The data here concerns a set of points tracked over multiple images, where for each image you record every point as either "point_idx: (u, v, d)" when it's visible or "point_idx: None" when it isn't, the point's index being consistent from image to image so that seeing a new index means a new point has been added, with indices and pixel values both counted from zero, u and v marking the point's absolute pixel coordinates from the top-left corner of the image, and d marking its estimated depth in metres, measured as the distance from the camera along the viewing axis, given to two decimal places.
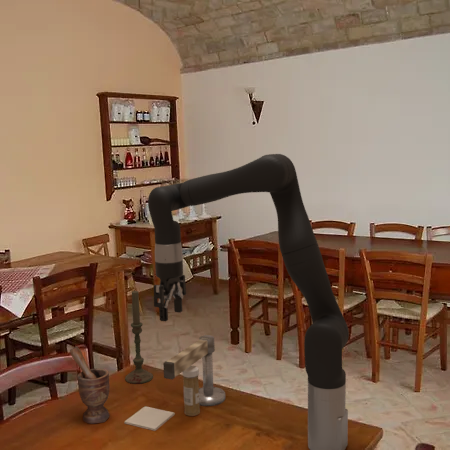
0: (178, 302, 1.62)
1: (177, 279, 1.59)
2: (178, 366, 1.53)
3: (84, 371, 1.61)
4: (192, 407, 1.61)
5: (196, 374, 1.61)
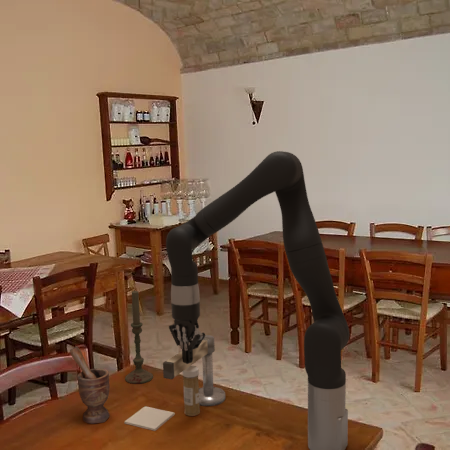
0: None
1: None
2: (178, 366, 1.53)
3: (84, 371, 1.61)
4: (192, 407, 1.61)
5: (196, 374, 1.61)
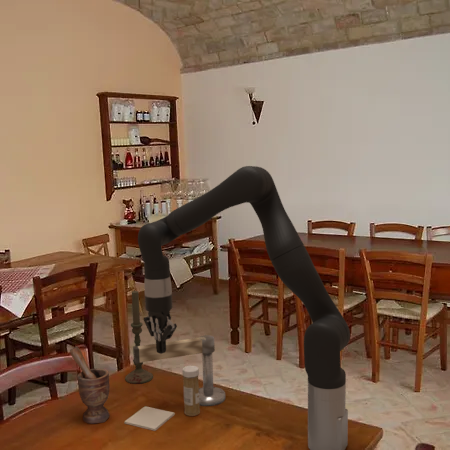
0: None
1: None
2: (147, 354, 1.63)
3: (84, 371, 1.61)
4: (192, 407, 1.61)
5: (196, 374, 1.61)
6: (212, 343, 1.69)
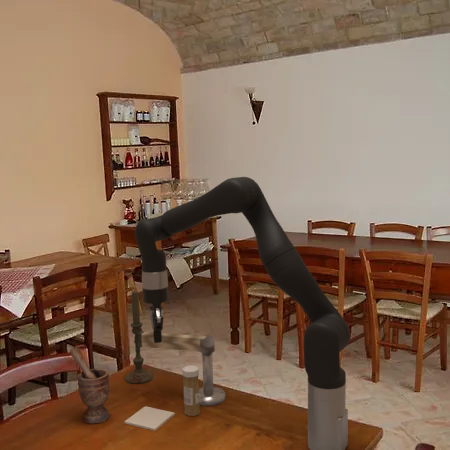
0: None
1: None
2: (148, 340, 1.74)
3: (84, 371, 1.61)
4: (192, 407, 1.61)
5: (196, 374, 1.61)
6: (208, 344, 1.68)
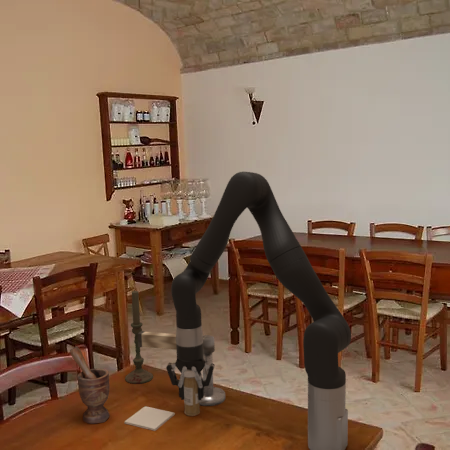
0: None
1: None
2: (148, 340, 1.74)
3: (84, 371, 1.61)
4: (192, 407, 1.61)
5: None
6: (208, 344, 1.68)
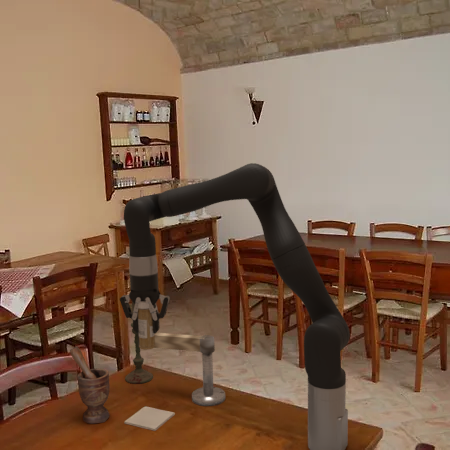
0: None
1: None
2: None
3: (84, 371, 1.61)
4: (147, 340, 1.55)
5: (150, 305, 1.55)
6: (208, 344, 1.68)
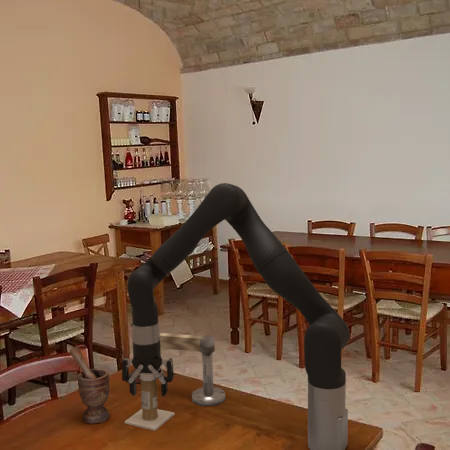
0: (135, 383, 1.60)
1: None
2: None
3: (84, 371, 1.61)
4: (149, 411, 1.58)
5: (153, 378, 1.57)
6: (208, 344, 1.68)
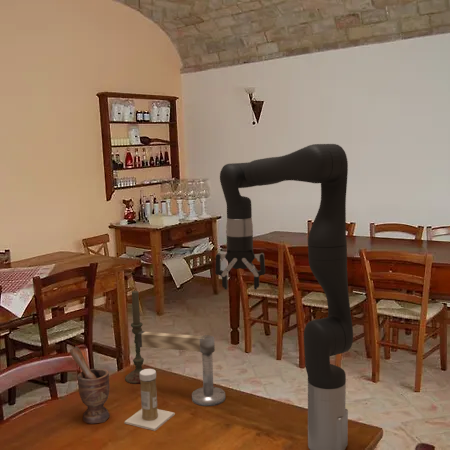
0: (227, 278, 1.66)
1: None
2: (148, 340, 1.74)
3: (84, 371, 1.61)
4: (149, 411, 1.58)
5: (153, 377, 1.57)
6: (208, 344, 1.68)
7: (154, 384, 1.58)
